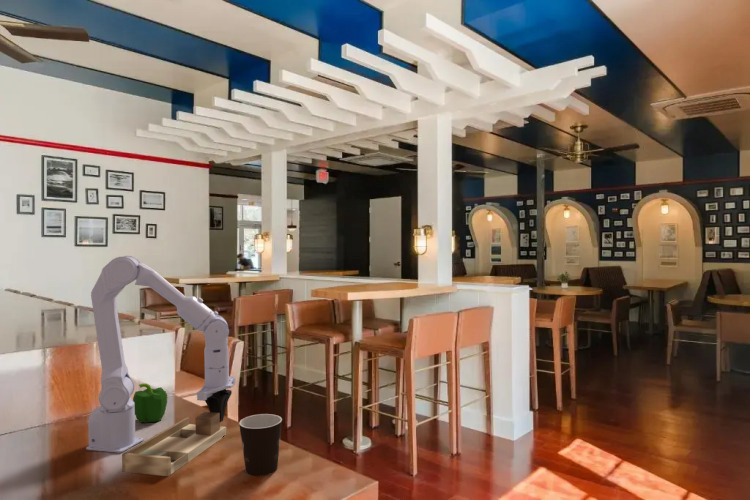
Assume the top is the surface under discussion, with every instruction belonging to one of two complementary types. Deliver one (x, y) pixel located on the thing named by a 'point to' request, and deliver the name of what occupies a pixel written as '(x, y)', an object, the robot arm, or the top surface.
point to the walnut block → (207, 423)
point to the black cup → (261, 443)
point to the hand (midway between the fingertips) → (217, 421)
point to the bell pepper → (150, 403)
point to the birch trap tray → (168, 449)
